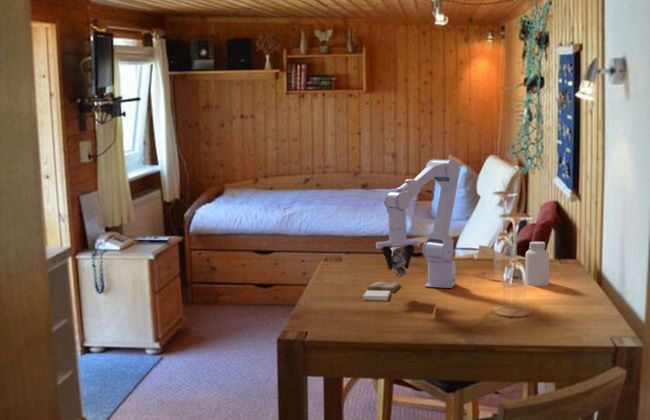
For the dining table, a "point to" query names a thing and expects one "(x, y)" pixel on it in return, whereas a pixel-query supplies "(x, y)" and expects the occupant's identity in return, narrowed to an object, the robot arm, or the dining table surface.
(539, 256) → the pill bottle
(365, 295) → the ceramic tile
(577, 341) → the dining table surface
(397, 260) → the seashell
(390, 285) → the walnut base
